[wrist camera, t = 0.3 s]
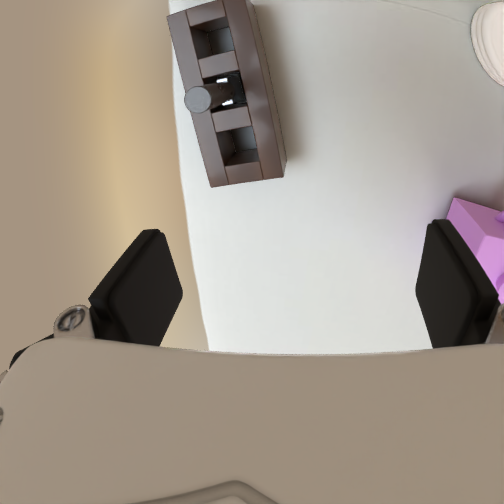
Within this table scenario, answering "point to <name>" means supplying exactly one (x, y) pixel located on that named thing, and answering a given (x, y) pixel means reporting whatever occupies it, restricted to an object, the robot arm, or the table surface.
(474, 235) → the teapot
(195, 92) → the grey handled tool
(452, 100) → the table surface
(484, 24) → the white round stack
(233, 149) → the utensil block
